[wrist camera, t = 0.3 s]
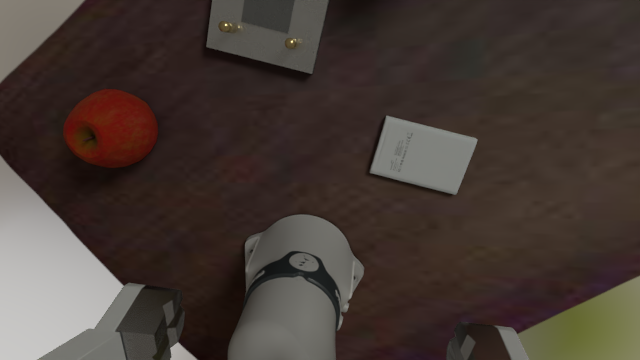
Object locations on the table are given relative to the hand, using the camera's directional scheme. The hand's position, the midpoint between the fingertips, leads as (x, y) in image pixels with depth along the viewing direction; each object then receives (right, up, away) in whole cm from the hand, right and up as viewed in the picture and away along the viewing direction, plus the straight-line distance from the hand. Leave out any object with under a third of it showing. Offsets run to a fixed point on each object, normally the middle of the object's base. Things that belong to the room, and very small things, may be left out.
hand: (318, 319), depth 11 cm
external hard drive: (+14, +8, +41) cm, 44 cm away
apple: (-27, +12, +43) cm, 52 cm away
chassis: (-6, +26, +36) cm, 45 cm away
